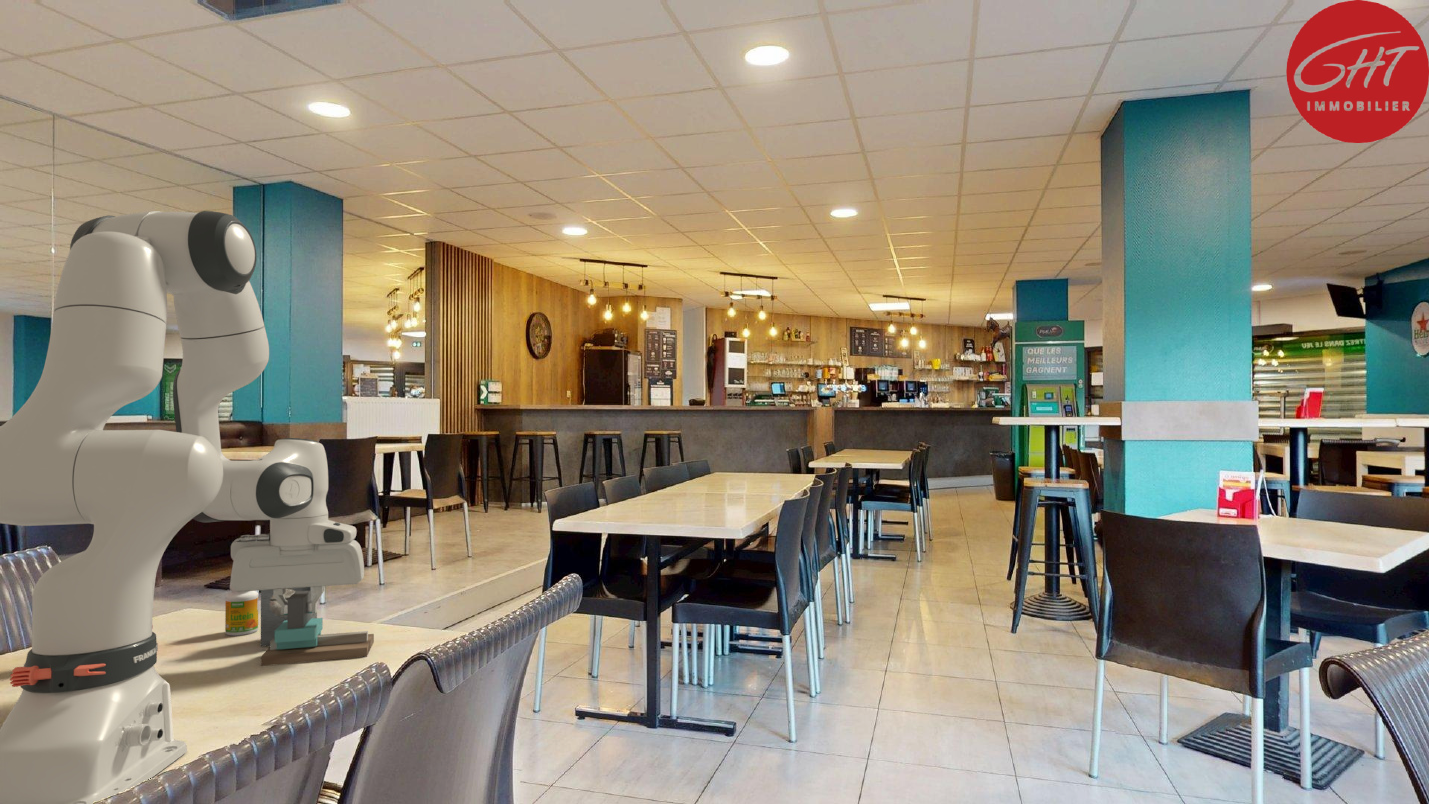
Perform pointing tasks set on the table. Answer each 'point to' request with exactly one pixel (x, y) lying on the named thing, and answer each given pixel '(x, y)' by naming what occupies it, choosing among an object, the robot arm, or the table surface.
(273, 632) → the cabinet
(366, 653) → the rail board
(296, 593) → the carriage
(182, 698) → the table surface
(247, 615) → the supplement bottle
